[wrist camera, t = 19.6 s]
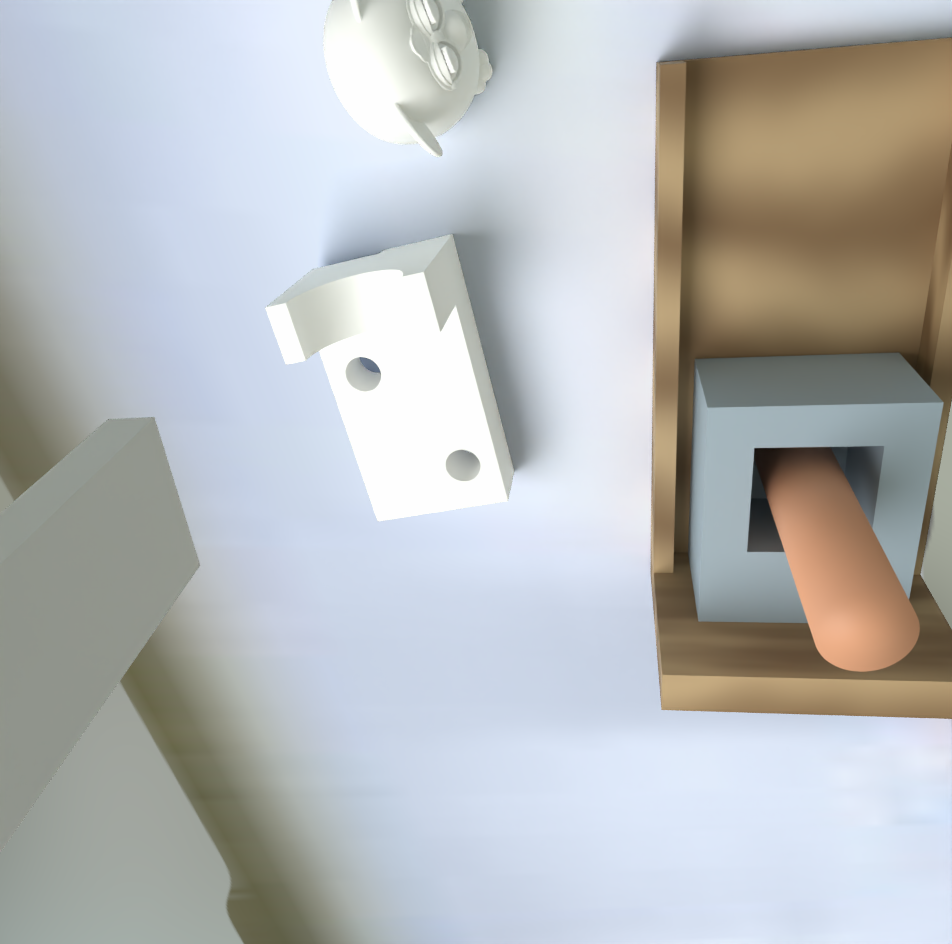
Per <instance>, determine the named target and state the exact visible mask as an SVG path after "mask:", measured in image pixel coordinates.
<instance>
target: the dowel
mask: <svg viewBox="0 0 952 944" xmlns="http://www.w3.org/2000/svg"><path fill="white" fill-rule="evenodd" d="M754 460H755V463H756V466H757V469H758V472H759V475H760V478H761V481H762V484H763V487H764V490H765V493H766V496H767V499H768V502H769V505H770V508H771V511H772V515H773V518H774V521H775V524H776V527H777V530H778V533H779V536H780V539H781V542H782V545H783V548H784V551H785V554H786V557H787V560H788V563H789V566H790V569H791V572H792V575H793V578H794V581H795V585H796V588H797V591H798V594H799V597H800V600H801V603H802V606H803V609H804V612H805V615H806V618H807V621H808V624H809V627H810V630H811V633H812V636H813V639H814V642H815V645H816V648H817V650H818V652H819V653H820V654H821V656H822V657H823V658H824V659H825V660H827V661H828V662H829V663H831V664H833V665H834V666H837V667H839V668H842V669H845V670H850V671H858V672H866V671H874V670H879V669H883V668H886V667H888V666H891V665H893V664H895V663H896V662H898V661H900V660H901V659H903V658H904V657H905V656H906V655H907V654H908V653H909V652H910V651H911V650H912V649H913V647H914V646H915V644H916V642H917V640H918V637H919V632H920V624H919V620H918V617H917V615H916V613H915V611H914V609H913V607H912V605H911V603H910V601H909V599H908V597H907V595H906V593H905V591H904V589H903V587H902V585H901V583H900V581H899V580H898V578H897V576H896V574H895V572H894V570H893V568H892V566H891V564H890V562H889V560H888V558H887V556H886V554H885V552H884V550H883V548H882V546H881V545H880V543H879V541H878V539H877V537H876V535H875V533H874V531H873V529H872V527H871V525H870V523H869V521H868V519H867V517H866V515H865V513H864V511H863V510H862V508H861V506H860V504H859V502H858V500H857V498H856V496H855V494H854V492H853V490H852V488H851V486H850V484H849V482H848V480H847V478H846V476H845V474H844V473H843V471H842V469H841V467H840V465H839V463H838V461H837V459H836V457H835V455H834V453H833V451H832V449H831V447H788V448H754Z"/></svg>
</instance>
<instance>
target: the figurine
mask: <svg viewBox="0 0 952 944" xmlns="http://www.w3.org/2000/svg"><path fill="white" fill-rule="evenodd" d="M463 1H464V0H332V2H331V4H330V6H329V9H328V12H327V15H326V19H325V25H324V34H323V46H324V55H325V61H326V66H327V70H328V73H329V77H330V80H331V82H332V85H333V87H334V90H335V92H336V94H337V96H338V97H339V99H340V101H341V103H342V104H343V106H344V107H345V109H346V110H347V111H348V113H349V114H350V115H351V116H352V118H353V119H354V120H355V121H356V122H357V123H358V124H359V125H360V126H361V127H362V128H364V129H365V130H366V131H368V132H369V133H370V134H372V135H374V136H375V137H377V138H379V139H381V140H384V141H387V142H390V143H394V144H403V145H408V144H418V143H419V144H420V145H421V146H422V147H423V148H424V149H425V150H426V151H428V152H429V153H430V154H432V155H434V156H436V157H441V156H442V149H441V147H440V145H439V143H438V142H437V140H436V137H438V136H440V135H442V134H444V133H445V132H447V131H448V130H449V129H451V128H452V127H453V126H454V125H455V124H456V123H457V122H458V121H459V120H460V119H461V118H462V117H463V115H464V114H465V113H466V111H467V110H468V108H469V106H470V104H471V102H472V100H473V98H474V95H477V94H480V93H482V92H483V91H484V90H485V88H486V81H488V80H489V79H490V78H491V76H492V73H493V70H492V66H491V64H490V63H489V58H488V55H487V53H486V52H485V51H484V50H482V49H478V46H477V41H476V37H475V33H474V30H473V27H472V23H471V21H470V19H469V17H468V15H467V13H466V11H465V9H464V7H463V6H462V3H463Z"/></svg>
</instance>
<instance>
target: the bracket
mask: <svg viewBox="0 0 952 944" xmlns="http://www.w3.org/2000/svg"><path fill="white" fill-rule="evenodd" d="M265 308H266V311H267V314H268V317H269V319H270V322H271V325H272V328H273V330H274V333H275V336H276V339H277V341H278V344H279V347H280V350H281V352H282V355H283V358H284V361H285V363H286V365H287V364H292V363H296V362H301V361H306V360H307V359H308V358H309V357H310V356H312V355H313V354H315V353H316V352H318V351H319V352H320V355H321V358H322V361H323V364H324V367H325V370H326V372H327V375H328V378H329V381H330V384H331V387H332V390H333V393H334V396H335V399H336V401H337V404H338V407H339V410H340V413H341V416H342V419H343V422H344V425H345V428H346V431H347V433H348V436H349V439H350V442H351V445H352V448H353V451H354V454H355V457H356V460H357V462H358V465H359V468H360V471H361V474H362V477H363V480H364V483H365V486H366V489H367V492H368V494H369V497H370V500H371V503H372V506H373V509H374V512H375V515H376V518H377V521H384V520H390V519H397V518H403V517H409V516H416V515H422V514H428V513H435V512H441V511H447V510H454V509H460V508H466V507H473V506H479V505H486V504H492V503H498V502H505V501H508V499H509V494H510V490H511V485H512V480H513V475H514V468H513V464H512V461H511V457H510V453H509V449H508V445H507V441H506V438H505V434H504V430H503V426H502V422H501V418H500V414H499V411H498V407H497V403H496V399H495V395H494V391H493V388H492V384H491V380H490V376H489V372H488V368H487V364H486V361H485V357H484V353H483V349H482V345H481V341H480V338H479V334H478V330H477V326H476V322H475V318H474V315H473V311H472V307H471V303H470V299H469V295H468V291H467V288H466V284H465V280H464V276H463V272H462V268H461V265H460V261H459V257H458V253H457V249H456V245H455V242H454V238H453V234H450V235H445V236H441V237H437V238H433V239H428V240H424V241H420V242H416V243H411V244H407V245H403V246H399V247H394V248H390V249H386V250H383V251H382V252H381V253H379V254H375V255H371V256H366V257H362V258H358V259H353V260H349V261H345V262H341V263H336V264H332V265H328V266H324V267H319V268H315V269H312V270H311V271H310V272H308V273H307V274H306V275H305V276H304V277H302V278H301V279H300V280H299V281H297V282H296V283H295V284H294V285H292V286H291V287H290V288H289V289H288V290H286V291H285V292H284V293H283V294H281V295H280V296H279V297H278V298H277V299H275V300H274V301H273V302H272V303H270V304H269V305H268V306H267V307H265ZM359 357H366V358H369V359H371V360H372V361H374V362H375V363H376V364H377V365H378V367H379V369H380V372H381V373H375V372H371V371H369V370H367V369H366V368H365V367H364V366H363V365H362V363H361V361H360V358H359ZM464 450H467V451H470V452H472V453H469V452H466V451H464Z"/></svg>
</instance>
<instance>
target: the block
mask: <svg viewBox="0 0 952 944" xmlns="http://www.w3.org/2000/svg"><path fill="white" fill-rule="evenodd" d="M943 403H944V402H943V401H942V400H941V399H940V398H939V397H938V396H937V394H936V393H935V392H934V391H933V390H932V389H931V388H930V387H929V386H928V384H927V383H926V382H925V381H924V380H923V379H922V378H921V377H920V375H919V374H918V373H917V372H916V371H915V370H914V369H913V368H912V367H911V365H910V364H909V363H908V362H907V361H906V360H905V359H904V358H903V357H902V355H901V354H900V353H868V354H836V355H804V356H773V357H741V358H709V359H695V364H694V393H693V422H692V451H691V480H690V509H689V538H688V557H689V563H690V570H691V576H692V583H693V589H694V596H695V602H696V609H697V615H698V622H765V623H808V621H807V618H806V615H805V612H804V609H803V606H802V603H801V600H800V597H799V594H798V591H797V588H796V585H795V581H794V578H793V575H792V572H791V569H790V566H789V563H788V560H787V557H786V554H785V551H784V548H783V545H782V542H781V539H780V536H779V533H778V530H777V527H776V524H775V521H774V518H773V515H772V511H771V508H770V505H769V502H768V499H767V496H766V493H765V490H764V487H763V484H762V481H761V478H760V475H759V472H758V469H757V466H756V463H755V460H754V448H788V447H831V449H832V451H833V453H834V455H835V457H836V459H837V461H838V463H839V465H840V467H841V469H842V471H843V473H844V474H845V476H846V478H847V480H848V482H849V484H850V486H851V488H852V490H853V492H854V494H855V496H856V498H857V500H858V502H859V504H860V506H861V508H862V510H863V511H864V513H865V515H866V517H867V519H868V521H869V523H870V525H871V527H872V529H873V531H874V533H875V535H876V537H877V539H878V541H879V543H880V545H881V546H882V548H883V550H884V552H885V554H886V556H887V558H888V560H889V562H890V564H891V566H892V568H893V570H894V572H895V574H896V576H897V578H898V580H899V581H900V583H901V585H902V587H903V589H904V591H905V593H906V595H907V597H908V599H909V597H910V592H911V586H912V580H913V574H914V569H915V563H916V557H917V552H918V546H919V540H920V534H921V529H922V523H923V517H924V512H925V506H926V500H927V495H928V489H929V483H930V477H931V472H932V466H933V460H934V455H935V449H936V443H937V437H938V432H939V426H940V420H941V415H942V409H943Z"/></svg>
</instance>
